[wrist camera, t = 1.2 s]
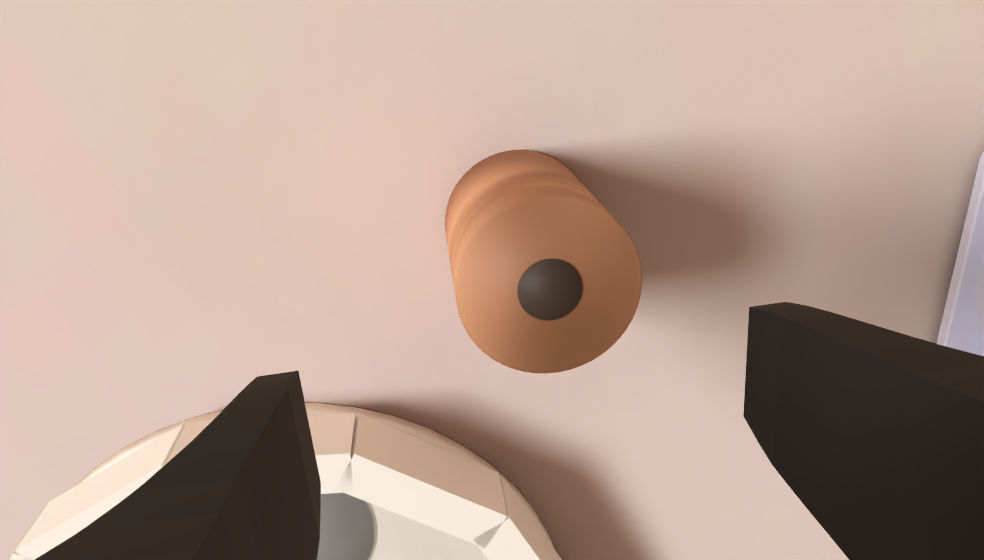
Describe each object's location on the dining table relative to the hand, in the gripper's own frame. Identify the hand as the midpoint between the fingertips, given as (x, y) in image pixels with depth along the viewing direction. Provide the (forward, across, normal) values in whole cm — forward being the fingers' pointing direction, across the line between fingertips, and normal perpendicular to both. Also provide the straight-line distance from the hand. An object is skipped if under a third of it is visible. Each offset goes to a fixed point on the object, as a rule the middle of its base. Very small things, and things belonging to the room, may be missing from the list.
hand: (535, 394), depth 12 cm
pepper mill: (+9, -1, 0) cm, 9 cm away
